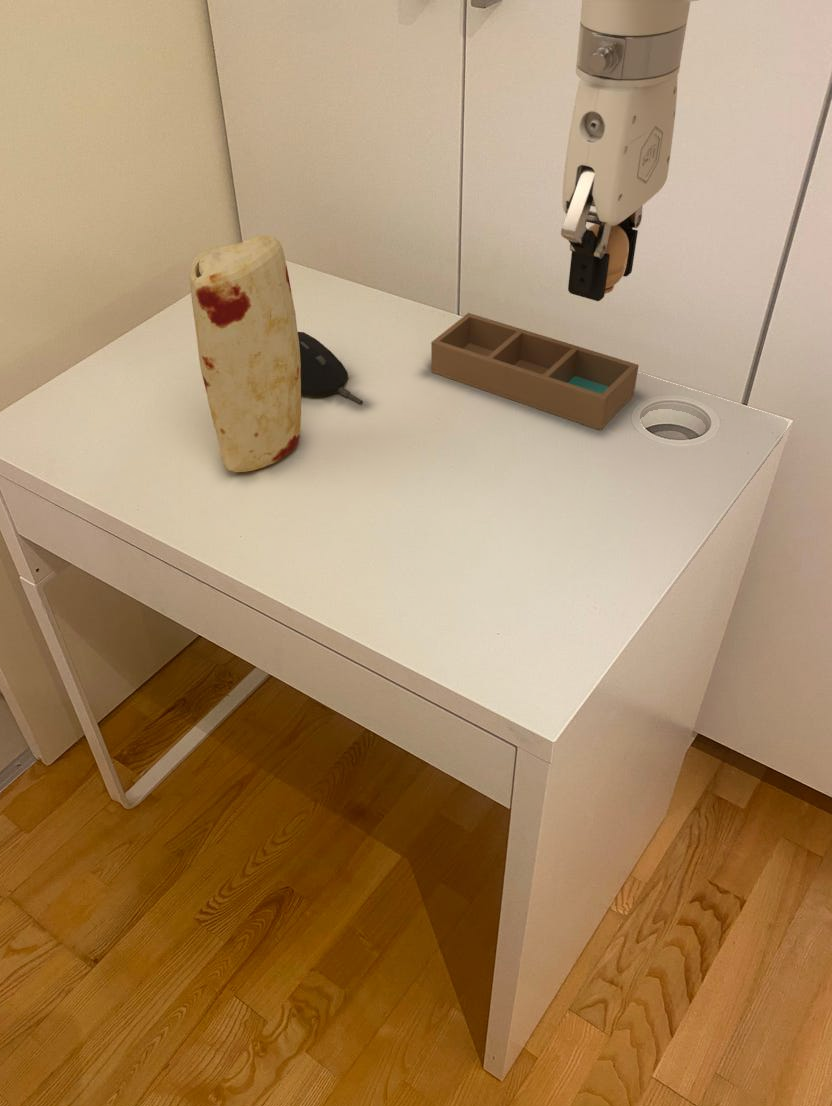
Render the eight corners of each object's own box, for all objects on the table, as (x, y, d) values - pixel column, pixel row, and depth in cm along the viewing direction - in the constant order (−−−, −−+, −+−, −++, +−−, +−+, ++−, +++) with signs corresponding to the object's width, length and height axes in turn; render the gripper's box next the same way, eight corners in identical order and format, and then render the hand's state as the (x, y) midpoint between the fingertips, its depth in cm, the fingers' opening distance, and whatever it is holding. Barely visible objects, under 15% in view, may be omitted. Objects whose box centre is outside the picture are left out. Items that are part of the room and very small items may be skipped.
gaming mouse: (339, 419, 95) (336, 382, 92) (237, 368, 103) (231, 333, 100) (383, 390, 98) (381, 354, 95) (281, 342, 106) (276, 308, 103)
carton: (467, 342, 103) (468, 312, 101) (633, 396, 95) (638, 364, 92) (431, 372, 100) (431, 341, 98) (600, 430, 91) (604, 399, 89)
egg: (625, 277, 87) (635, 214, 83) (620, 300, 84) (629, 236, 80) (577, 273, 88) (584, 211, 84) (570, 296, 85) (577, 233, 81)
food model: (250, 494, 88) (213, 281, 74) (202, 465, 92) (157, 257, 77) (327, 443, 93) (306, 233, 78) (278, 417, 96) (249, 212, 82)
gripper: (622, 94, 67) (591, 339, 80) (726, 23, 75) (682, 254, 89) (526, 77, 70) (511, 314, 83) (635, 10, 79) (606, 235, 92)
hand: (599, 281), depth 86 cm, fingers closed on egg, 4 cm apart
